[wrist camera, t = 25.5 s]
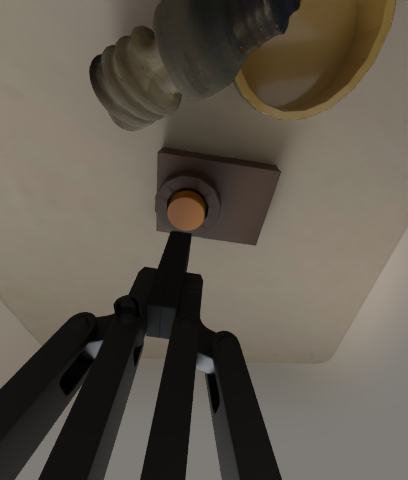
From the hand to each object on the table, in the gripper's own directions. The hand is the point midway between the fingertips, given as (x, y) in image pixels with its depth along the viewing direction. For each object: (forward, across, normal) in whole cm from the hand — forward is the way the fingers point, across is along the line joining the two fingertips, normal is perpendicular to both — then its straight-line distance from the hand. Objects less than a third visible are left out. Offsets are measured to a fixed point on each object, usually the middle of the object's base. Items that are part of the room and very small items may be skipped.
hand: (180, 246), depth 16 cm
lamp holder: (+11, +6, +14) cm, 19 cm away
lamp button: (+7, 0, 0) cm, 7 cm away
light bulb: (+2, +4, +14) cm, 15 cm away
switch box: (+11, +2, 0) cm, 11 cm away
